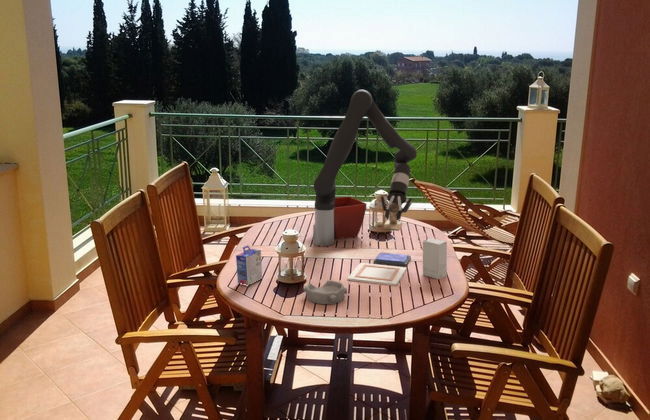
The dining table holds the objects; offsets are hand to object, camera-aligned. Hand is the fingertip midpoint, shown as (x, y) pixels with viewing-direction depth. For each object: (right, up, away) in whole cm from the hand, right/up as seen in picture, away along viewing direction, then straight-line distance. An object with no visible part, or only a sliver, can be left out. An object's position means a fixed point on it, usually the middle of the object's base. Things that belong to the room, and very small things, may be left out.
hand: (392, 218), depth 268 cm
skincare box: (+16, -23, -12) cm, 30 cm away
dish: (-28, -29, -35) cm, 54 cm away
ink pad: (+1, -18, +6) cm, 19 cm away
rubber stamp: (+1, -4, +3) cm, 5 cm away
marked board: (-7, -23, -10) cm, 26 cm away
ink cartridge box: (-58, -25, -19) cm, 66 cm away
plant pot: (-21, -9, +46) cm, 51 cm away
